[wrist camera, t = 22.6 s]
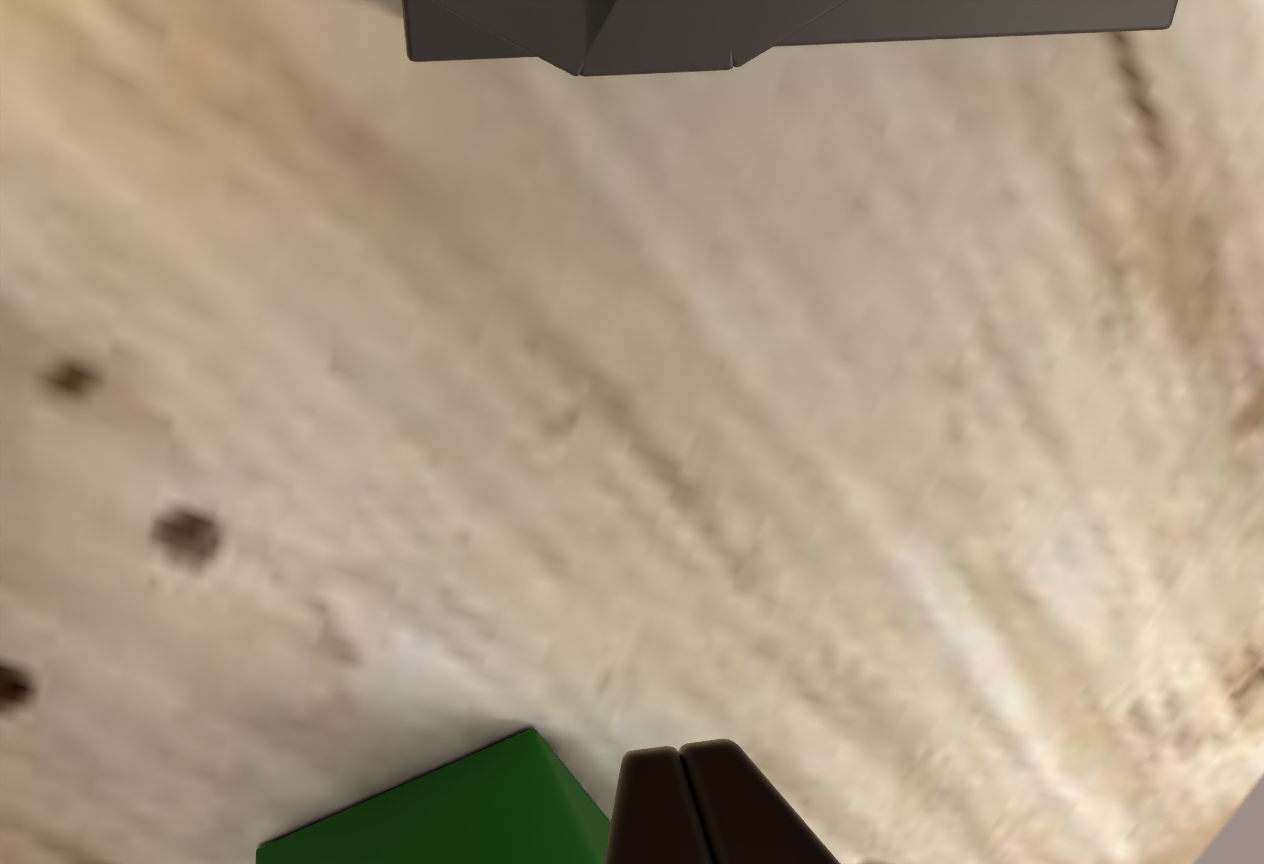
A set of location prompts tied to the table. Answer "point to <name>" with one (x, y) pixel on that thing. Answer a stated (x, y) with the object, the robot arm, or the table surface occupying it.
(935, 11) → the button base
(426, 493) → the table surface
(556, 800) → the milk carton
